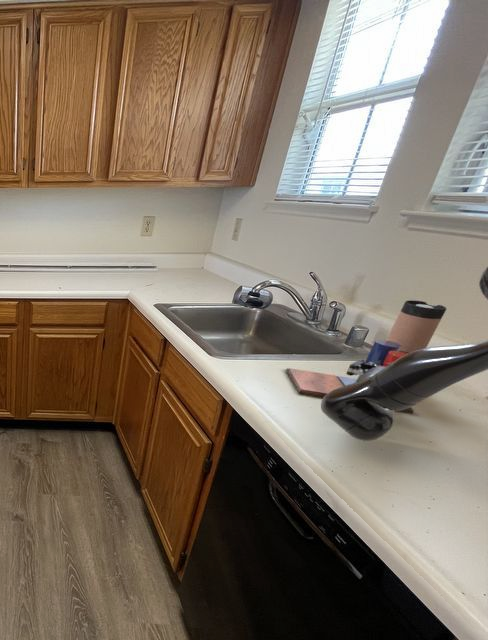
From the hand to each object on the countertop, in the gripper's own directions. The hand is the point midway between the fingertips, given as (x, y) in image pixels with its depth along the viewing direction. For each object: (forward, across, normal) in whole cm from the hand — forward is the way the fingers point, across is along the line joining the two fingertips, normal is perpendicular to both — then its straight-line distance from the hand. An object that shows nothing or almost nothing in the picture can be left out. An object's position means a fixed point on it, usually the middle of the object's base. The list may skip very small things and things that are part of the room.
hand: (396, 368), depth 96 cm
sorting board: (-2, +7, +8) cm, 11 cm away
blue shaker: (+4, +4, +7) cm, 9 cm away
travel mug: (+17, +2, +8) cm, 19 cm away
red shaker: (-2, 0, +7) cm, 7 cm away
